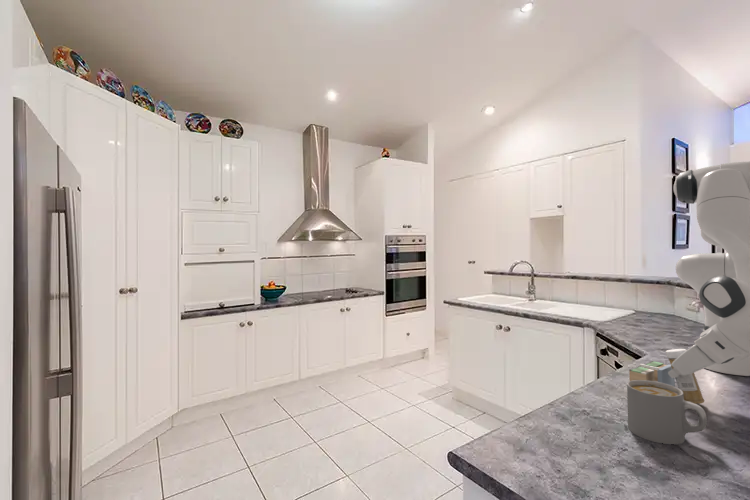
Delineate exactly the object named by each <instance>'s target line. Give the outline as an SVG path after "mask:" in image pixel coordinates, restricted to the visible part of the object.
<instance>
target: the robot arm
mask: <svg viewBox="0 0 750 500" xmlns="http://www.w3.org/2000/svg"><path fill="white" fill-rule="evenodd" d="M672 188H673V193H674V195H675V197H676V199H677V200H678V202H681V203H682V204H693V205H694V204H695V203H696V218H697V219H696V220H697V223H698V225H699V228H700V236H701V238H702V239H703V240H704V241H705V242H707V243H708V244H710V245H712V246H716V247H717V248H718V247H719V248H721V249H723V250H724V251H725V252H722V253H721V252H717V253H715V252H714V253H712V252H710V253H708V252H707V253H699V252H698V253H694V254H693V253H692V254H687V255H683V256H682V257H680V258H679V259H678V261H677V262H676V265H675V273H676V275H677V277H678V279H680V280H681V281H682V282H683V283H685V284H686V285H688V286H689V287H691V288H692V289H693V290H694V291H695V292H696V294H698V296H699V297H698V298H699V301H700V303H701V304H702V305H703V313H704V324H703V326H702V327H703V328H702V332H700V335H699V337H698V338H697V339H696V340H694V342H693V343H694V344H693V345H692V346H690V347H689V348H688V349H686V350H687V351H685V352H684V353H683V354H682V355H680V356H679V357H678V358H677V359H675V360H674V361H673V363H672V366H673V367H674V368H673V369H672V370H671V371H669V372H668V374H669V376H670V377H671V378H675V377H677V376H679V375H682V376H686V375H689V374H692V373H694V374H695V373H696V372H699V371H702V370H703V369H707V370H709V371H714V372H718V373H723V374H727V375H734V376H745V377H750V161H735V162H727V163H720V164H717V165H712V166H706V167H701V168H697V169H694V170H693V169H689V170H685V171H683V172H680V173H679V174H678V175H677V176H676V179H675V181H674V184H673V187H672Z"/></svg>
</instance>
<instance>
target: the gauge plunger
mask: <svg viewBox="0 0 750 500" xmlns="http://www.w3.org/2000/svg"><path fill="white" fill-rule="evenodd" d="M644 364H645V363H639V366H641V367H643V368H644V367H645V368H650V369H654V370H657V373H658V381H655V382H661V383H665V384H668V385H672V386H674V387H676V385H675V384H676V379H675V378H671V377H670V376H669V374H668V372H669V371H671V370H672V367H671V364H669V363H668V364H665V365H666V366H664V367H662V368H658V367H653V366H649V365H644Z"/></svg>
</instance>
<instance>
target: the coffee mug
mask: <svg viewBox="0 0 750 500" xmlns="http://www.w3.org/2000/svg"><path fill="white" fill-rule="evenodd" d="M626 396H627V397H626V398H627V402H626V403H627V429H628V430H629V431H630V432H631V433H633V434H634V435H636V436H637V437H640V438H641V439H643V440H647V441H650V442H653V443H657V444H662V443H663V444H664V445H671V444H674V445H681V444H683V443H685V441H686V435H687V434H689V433H699V432H702V431H704V430H705V429H706V427H707V423H708V419H707V417H708V416H707V413H706V411H705V410H704V408H703V407H702V406H700V405H699V404H694V403H692V402H688V401H685V400H684V394H683V391H682V390H680V389H679V388H678V386H677V387H676V386H675V387H674V386H672V385H668V384H665V383H661V382H655V381H648V380H632V381H630V380H629V381H628V382H627V383H626ZM687 410H688V411H689V410H692V411H694V412H695V413H696V414H697V416H698V422H697V423H696V424H694V423H691V422H689V421H688V419H687V416H686V412H687Z"/></svg>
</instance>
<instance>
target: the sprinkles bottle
mask: <svg viewBox="0 0 750 500" xmlns="http://www.w3.org/2000/svg"><path fill="white" fill-rule="evenodd" d="M687 350H688V349H685V348H672V349H668V350H665V354H666V358H667V359H668V361H669V363H670V364H671V367H672V369H673V368H674V367H673V366H672V363H673V361H674V360H675V359H677V358H678V357H679V356H680V355H682V354H683V353H684V352H685V351H687ZM675 383H676V385H677V388H679V389H680V390H682V391H683V394H684V400H685V401H688V402H692V403H694V404H697V405H699V404H704V403H705V399H704V397H703V394H702V391H701V387H700V384H699V382H698V379H697V377H696V374H695V372H694V373H692V374H689V375H686V376H682V375H679V376H677V377H675Z"/></svg>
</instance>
